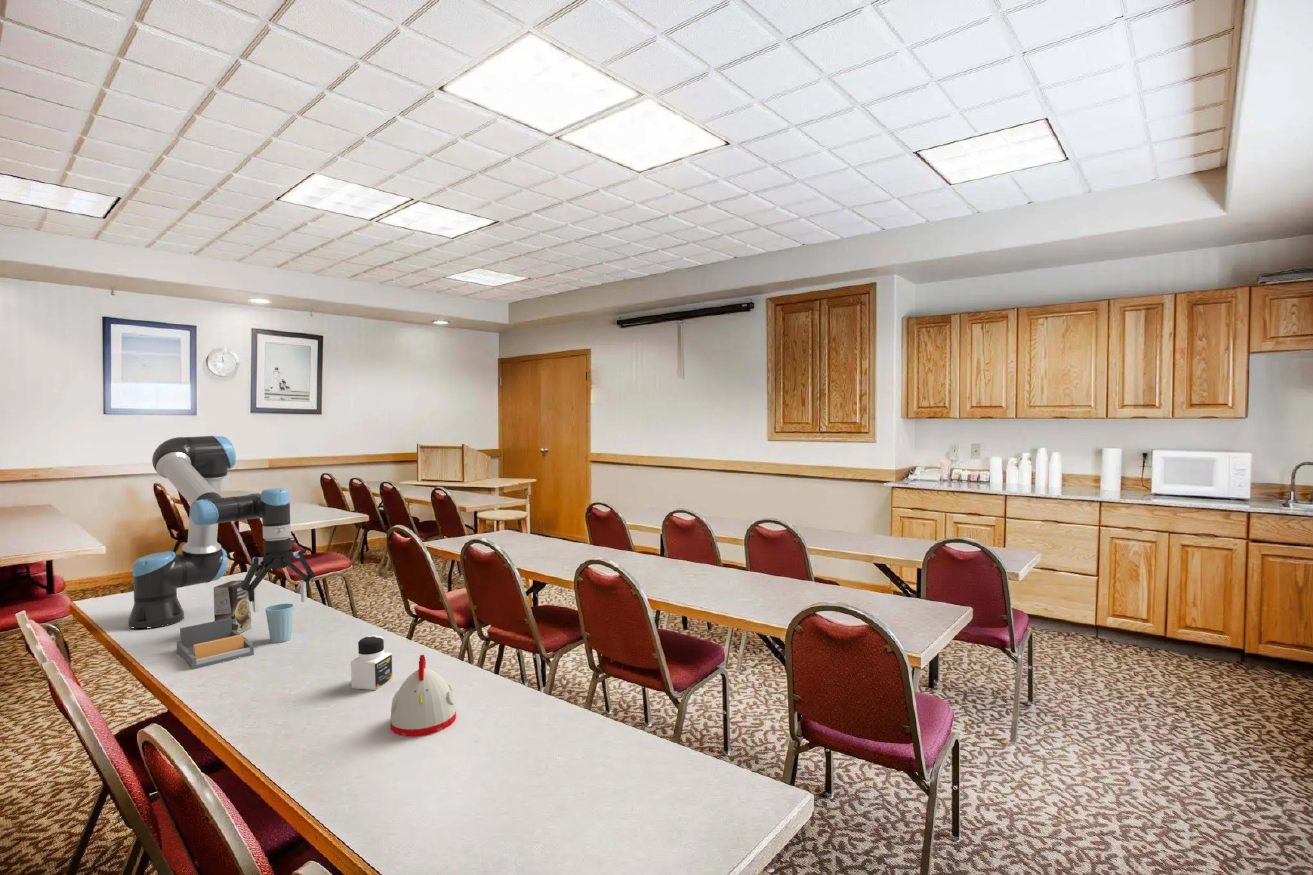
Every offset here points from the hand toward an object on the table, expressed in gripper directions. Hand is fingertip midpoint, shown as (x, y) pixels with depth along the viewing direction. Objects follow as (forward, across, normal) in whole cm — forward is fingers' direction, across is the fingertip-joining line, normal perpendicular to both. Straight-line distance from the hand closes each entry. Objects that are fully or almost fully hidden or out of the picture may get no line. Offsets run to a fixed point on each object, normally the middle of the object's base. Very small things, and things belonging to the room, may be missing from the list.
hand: (280, 606), depth 203 cm
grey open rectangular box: (+10, -17, +2) cm, 20 cm away
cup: (+11, 0, 0) cm, 11 cm away
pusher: (+9, -17, 0) cm, 19 cm away
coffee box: (+10, -8, +20) cm, 24 cm away
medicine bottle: (+12, +5, -56) cm, 57 cm away
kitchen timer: (+12, +4, -86) cm, 86 cm away
